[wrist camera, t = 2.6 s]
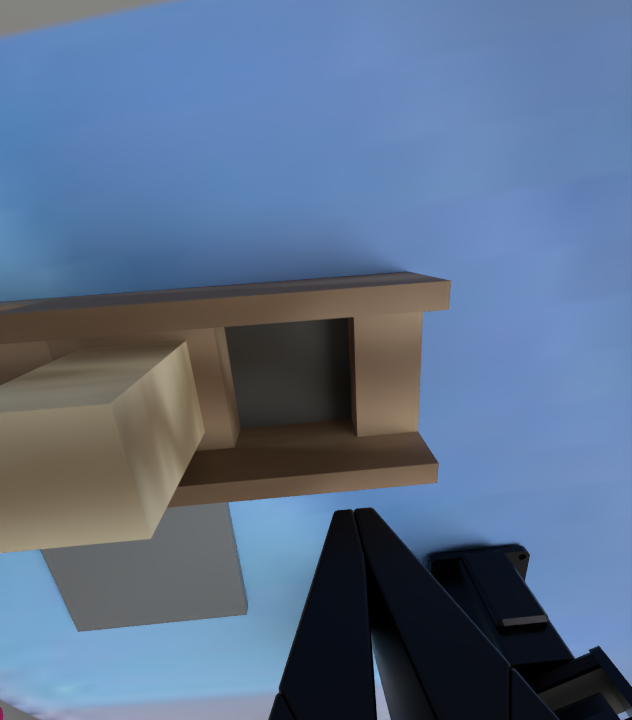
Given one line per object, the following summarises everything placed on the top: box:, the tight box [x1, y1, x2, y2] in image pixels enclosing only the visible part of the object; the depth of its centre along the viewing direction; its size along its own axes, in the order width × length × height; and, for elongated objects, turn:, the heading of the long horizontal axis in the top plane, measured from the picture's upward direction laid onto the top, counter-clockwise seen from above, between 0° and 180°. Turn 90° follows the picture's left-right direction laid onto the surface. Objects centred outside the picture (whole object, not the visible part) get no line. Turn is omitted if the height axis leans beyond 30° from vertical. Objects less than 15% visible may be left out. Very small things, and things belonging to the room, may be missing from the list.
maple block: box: [0, 341, 205, 553], centre depth 12 cm, size 4×4×6 cm
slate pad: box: [40, 502, 248, 632], centre depth 20 cm, size 11×11×1 cm
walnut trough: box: [0, 272, 451, 508], centre depth 14 cm, size 8×24×4 cm, turn 94°
